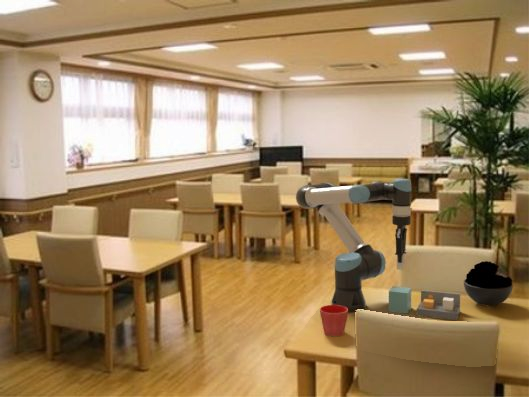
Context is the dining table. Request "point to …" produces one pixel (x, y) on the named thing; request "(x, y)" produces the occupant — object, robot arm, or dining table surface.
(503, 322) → the dining table surface
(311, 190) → the robot arm
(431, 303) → the tagged button
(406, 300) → the cover
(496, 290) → the bowl of black rocks
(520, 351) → the dining table surface
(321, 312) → the flower pot
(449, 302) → the plain button
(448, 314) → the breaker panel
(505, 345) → the dining table surface
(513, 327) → the dining table surface
